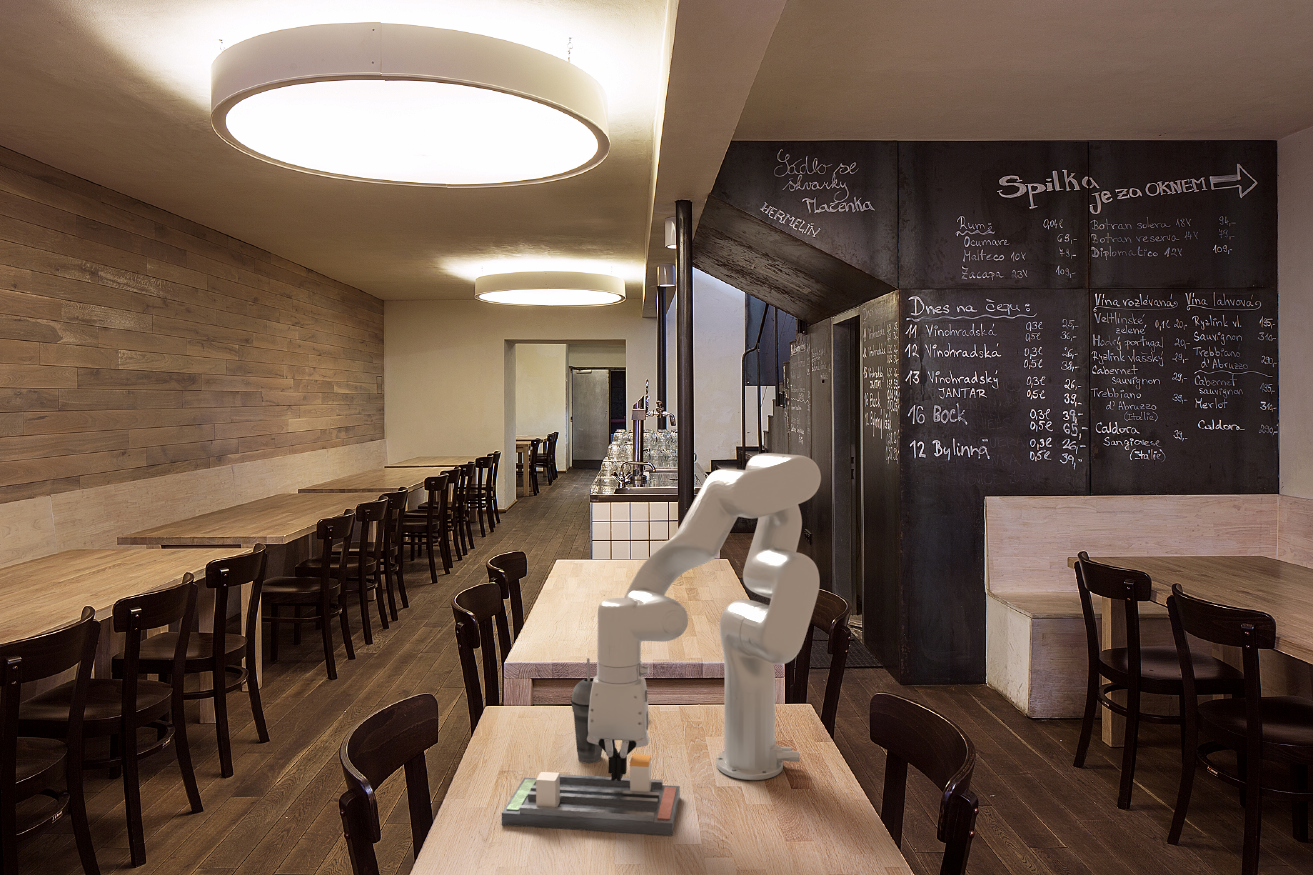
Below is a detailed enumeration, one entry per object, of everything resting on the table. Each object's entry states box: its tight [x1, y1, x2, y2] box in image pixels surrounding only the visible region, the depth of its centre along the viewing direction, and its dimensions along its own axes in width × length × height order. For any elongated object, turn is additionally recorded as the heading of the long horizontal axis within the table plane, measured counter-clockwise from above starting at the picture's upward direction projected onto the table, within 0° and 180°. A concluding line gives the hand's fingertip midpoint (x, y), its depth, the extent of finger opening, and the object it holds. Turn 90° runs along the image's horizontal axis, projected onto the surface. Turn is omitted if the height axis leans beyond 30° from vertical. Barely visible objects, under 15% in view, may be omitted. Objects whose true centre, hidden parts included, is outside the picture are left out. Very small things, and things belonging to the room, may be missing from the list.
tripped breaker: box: [629, 753, 652, 792], centre depth 139 cm, size 3×3×6 cm
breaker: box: [536, 771, 560, 807], centre depth 134 cm, size 3×3×5 cm
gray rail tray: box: [501, 773, 681, 836], centre depth 136 cm, size 28×13×3 cm, turn 83°
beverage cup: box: [570, 657, 603, 764], centre depth 157 cm, size 7×7×20 cm
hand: (617, 777), depth 139 cm, fingers closed
